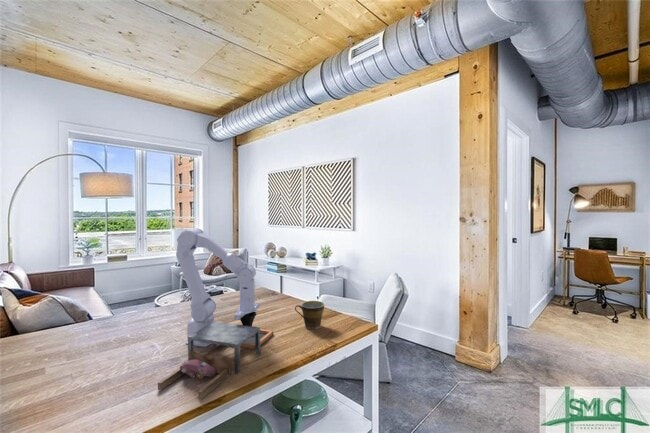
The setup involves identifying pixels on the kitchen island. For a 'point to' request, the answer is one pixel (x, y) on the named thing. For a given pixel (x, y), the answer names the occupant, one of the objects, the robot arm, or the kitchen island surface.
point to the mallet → (210, 358)
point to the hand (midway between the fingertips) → (247, 331)
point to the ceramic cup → (312, 314)
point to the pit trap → (263, 337)
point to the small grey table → (226, 338)
